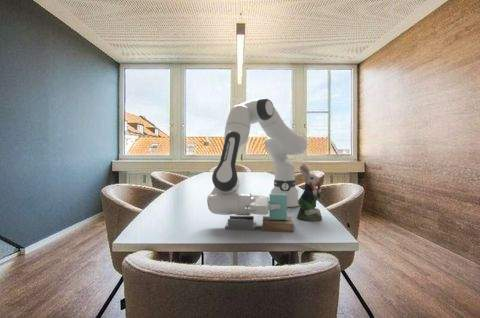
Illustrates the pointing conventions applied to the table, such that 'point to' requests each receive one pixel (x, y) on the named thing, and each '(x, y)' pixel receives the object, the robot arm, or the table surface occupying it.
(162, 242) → the table surface
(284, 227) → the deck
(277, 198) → the sign block
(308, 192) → the figurine
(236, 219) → the rack
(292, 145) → the robot arm
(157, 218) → the table surface
